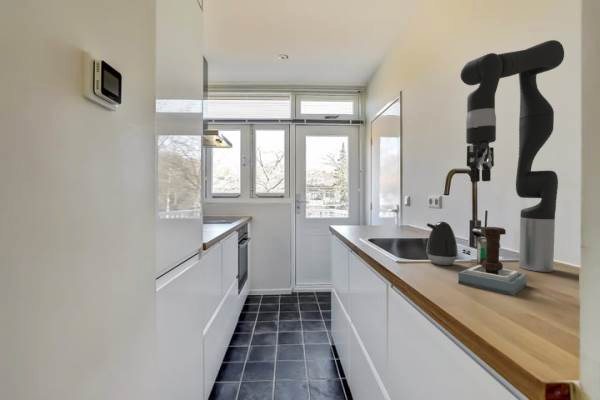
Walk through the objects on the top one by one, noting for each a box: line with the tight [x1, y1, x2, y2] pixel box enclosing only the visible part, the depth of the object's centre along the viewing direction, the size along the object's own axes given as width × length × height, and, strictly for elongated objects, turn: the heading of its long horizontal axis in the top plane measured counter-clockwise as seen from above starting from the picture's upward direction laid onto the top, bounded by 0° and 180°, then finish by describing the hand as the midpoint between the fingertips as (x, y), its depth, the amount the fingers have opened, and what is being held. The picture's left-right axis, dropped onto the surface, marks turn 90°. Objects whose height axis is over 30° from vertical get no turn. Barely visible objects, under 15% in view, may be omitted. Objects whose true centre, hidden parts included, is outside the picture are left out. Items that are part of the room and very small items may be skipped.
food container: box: [476, 236, 501, 266], centre depth 101 cm, size 12×6×10 cm, turn 154°
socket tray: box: [457, 265, 527, 296], centre depth 84 cm, size 13×13×4 cm
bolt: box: [480, 226, 506, 275], centre depth 84 cm, size 6×5×15 cm
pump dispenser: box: [425, 221, 459, 266], centre depth 108 cm, size 10×10×15 cm
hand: (480, 181), depth 90 cm, fingers open, 8 cm apart
